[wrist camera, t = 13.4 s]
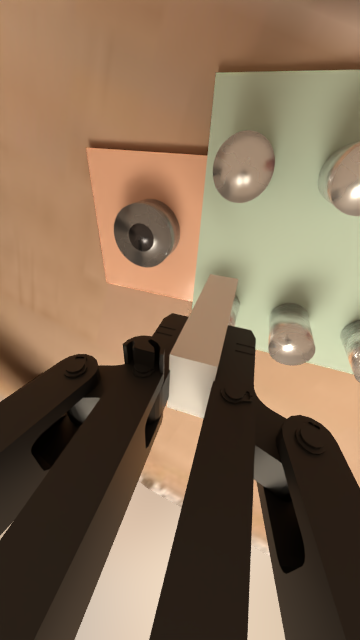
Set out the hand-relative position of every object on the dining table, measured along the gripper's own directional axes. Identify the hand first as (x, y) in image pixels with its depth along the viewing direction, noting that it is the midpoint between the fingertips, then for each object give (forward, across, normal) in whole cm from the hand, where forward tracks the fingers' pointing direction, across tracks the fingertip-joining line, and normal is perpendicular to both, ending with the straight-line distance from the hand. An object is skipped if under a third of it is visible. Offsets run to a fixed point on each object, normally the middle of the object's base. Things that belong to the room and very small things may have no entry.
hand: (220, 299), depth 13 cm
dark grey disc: (+8, -7, +1) cm, 11 cm away
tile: (+9, -8, +1) cm, 12 cm away
